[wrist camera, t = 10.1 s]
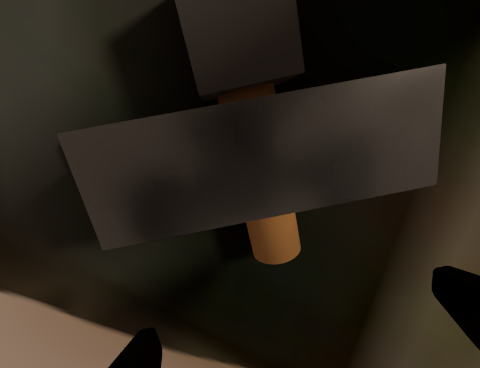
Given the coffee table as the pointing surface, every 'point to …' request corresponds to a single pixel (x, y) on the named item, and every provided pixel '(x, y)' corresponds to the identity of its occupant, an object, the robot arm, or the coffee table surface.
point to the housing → (258, 156)
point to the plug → (246, 78)
